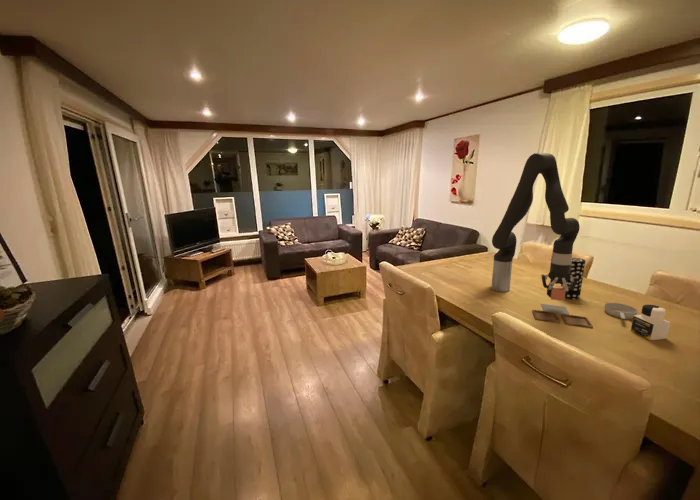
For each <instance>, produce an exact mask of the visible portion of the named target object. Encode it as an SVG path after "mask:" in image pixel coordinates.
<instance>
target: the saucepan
mask: <svg viewBox="0 0 700 500" xmlns="http://www.w3.org/2000/svg"><path fill="white" fill-rule="evenodd" d="M604 311H605V312H606V313H607V314H608V315H610V316H613V317H616V318H620V319H622V320H625V319H626V320H633V317H634V315H638V311H639V310H638V309H637V308H635V307H633V306H631V305H627V304H624V303H619V302H607V303H604Z"/></svg>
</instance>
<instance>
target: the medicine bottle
mask: <svg viewBox="0 0 700 500" xmlns="http://www.w3.org/2000/svg"><path fill="white" fill-rule="evenodd" d="M641 307H642V308H641V313H640V314H637V315H634V317H633V318H632V322H631V326H630V327H631V328H630V331H631V332H633V333H635V334H636V335H639V336H641V337H643V338H645V339H646V340H649V341H658V340H666V339H667V338H668V334H669V330H670V328H671V327H670V326H671V321H669V320H666V319H665V315H666V311H667V310H666V309H665V308H663V307H661V306H659V305H655V304H644V305H642V306H641Z"/></svg>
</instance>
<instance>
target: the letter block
mask: <svg viewBox="0 0 700 500" xmlns="http://www.w3.org/2000/svg"><path fill="white" fill-rule="evenodd" d="M565 291H566V290H565V289H564V287H561V285H560V286H557V285H554V286H553V287H552V288H551V297H549V299H550V300H553V301H554V300H555V301H563V302H564V301H565V299H566V298H565Z"/></svg>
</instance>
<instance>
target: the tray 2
mask: <svg viewBox="0 0 700 500" xmlns="http://www.w3.org/2000/svg"><path fill="white" fill-rule="evenodd" d="M560 316H561V318H562V319H563V322H564V324H565V325H567V326H572V327H573V326H574V327H579V328H586V329H594V326H593V324H592V323H591V321H590V319H588V317H587V316H581V315H573V314H570V315H567V314H560Z"/></svg>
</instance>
